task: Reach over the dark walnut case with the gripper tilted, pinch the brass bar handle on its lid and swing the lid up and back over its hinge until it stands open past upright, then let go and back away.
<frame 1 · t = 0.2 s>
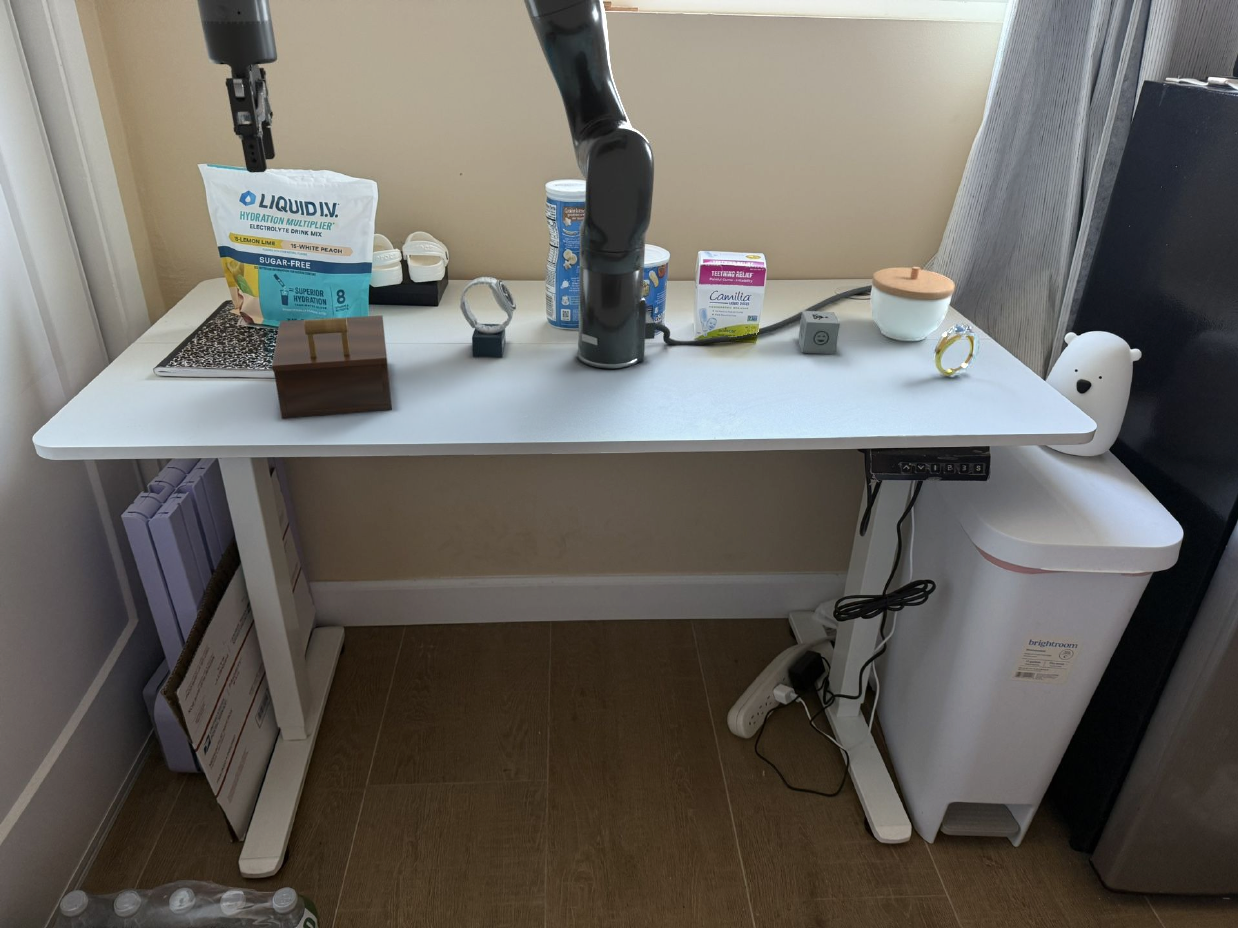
hand: (262, 165, 109), 29 cm above the table, tool pointing down, fingers open, 8 cm apart
case: (338, 390, 121), on the table
ring: (950, 377, 132), on the table
lid: (329, 324, 116), point 10 cm above the table, hinge at 0.0°
lidded bowl: (902, 334, 147), on the table
dice cube: (816, 348, 140), on the table
watch: (490, 351, 135), on the table
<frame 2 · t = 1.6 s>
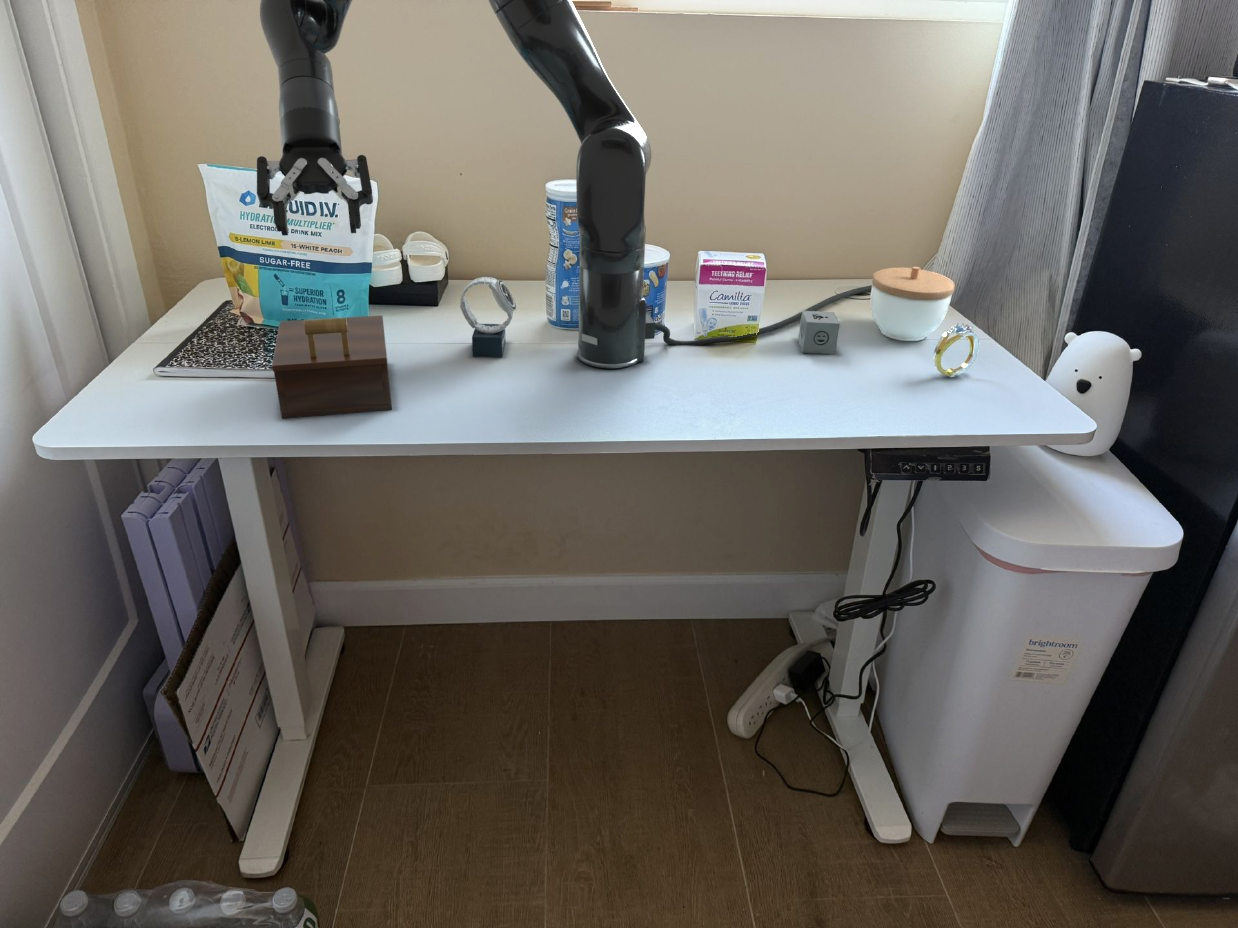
hand: (319, 231, 116), 20 cm above the table, tool tilted 45°, fingers open, 8 cm apart
nothing on the table moved.
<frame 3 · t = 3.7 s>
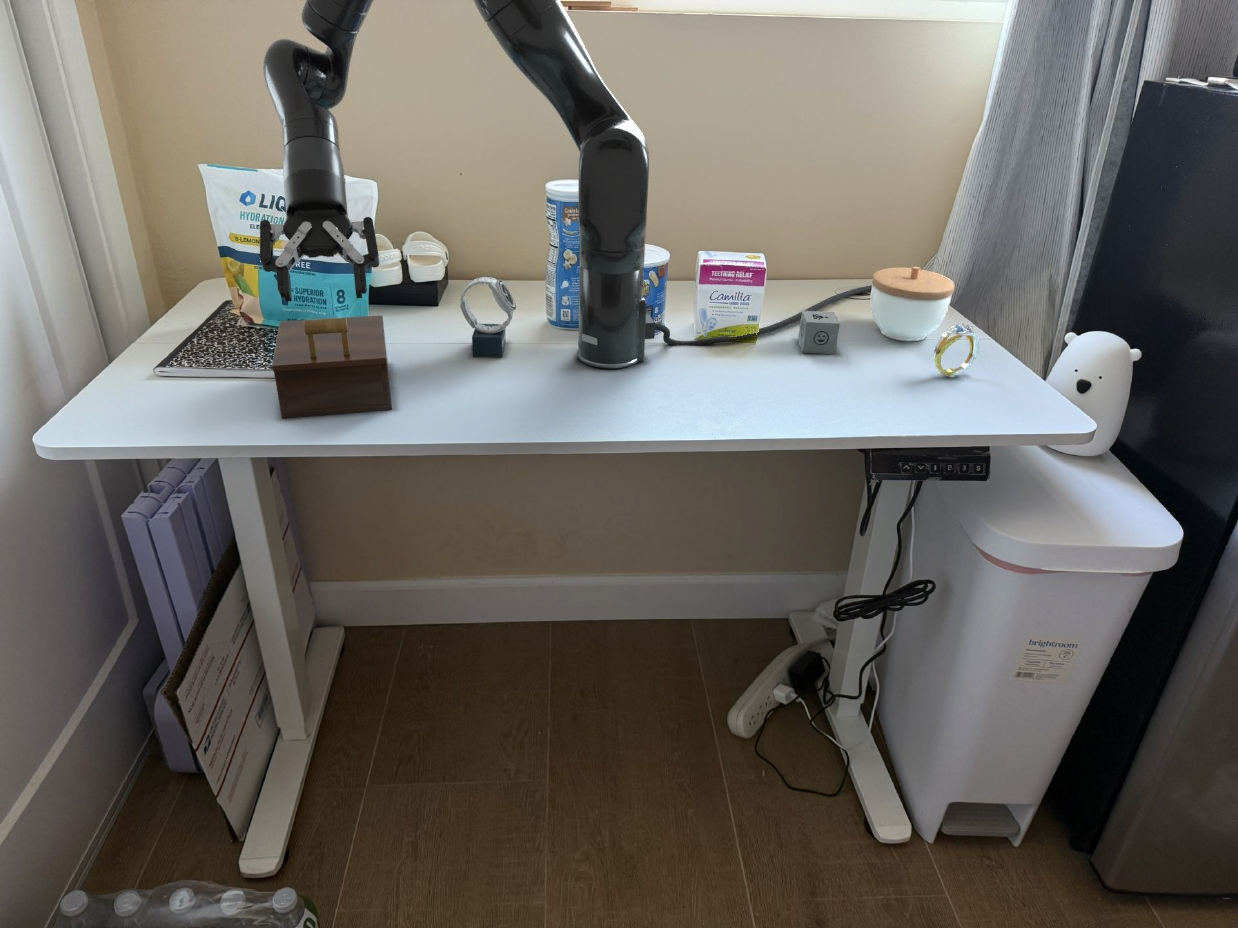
hand: (324, 297, 112), 14 cm above the table, tool tilted 45°, fingers open, 8 cm apart
nothing on the table moved.
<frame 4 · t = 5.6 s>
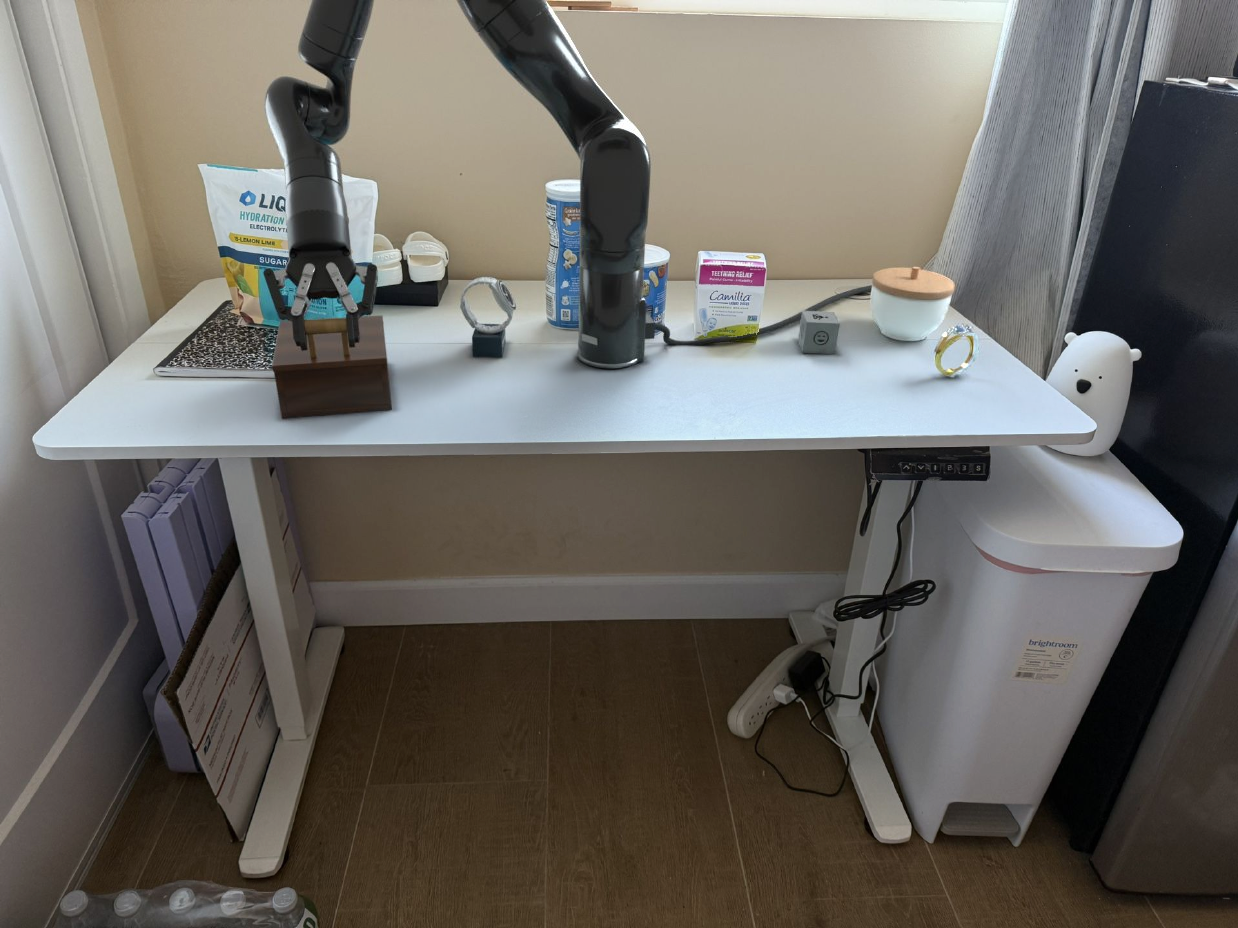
hand: (328, 346, 110), 10 cm above the table, tool tilted 45°, fingers closed on lid, 5 cm apart
lid: (329, 324, 116), point 10 cm above the table, hinge at -0.1°, touching gripper
everything else where it was.
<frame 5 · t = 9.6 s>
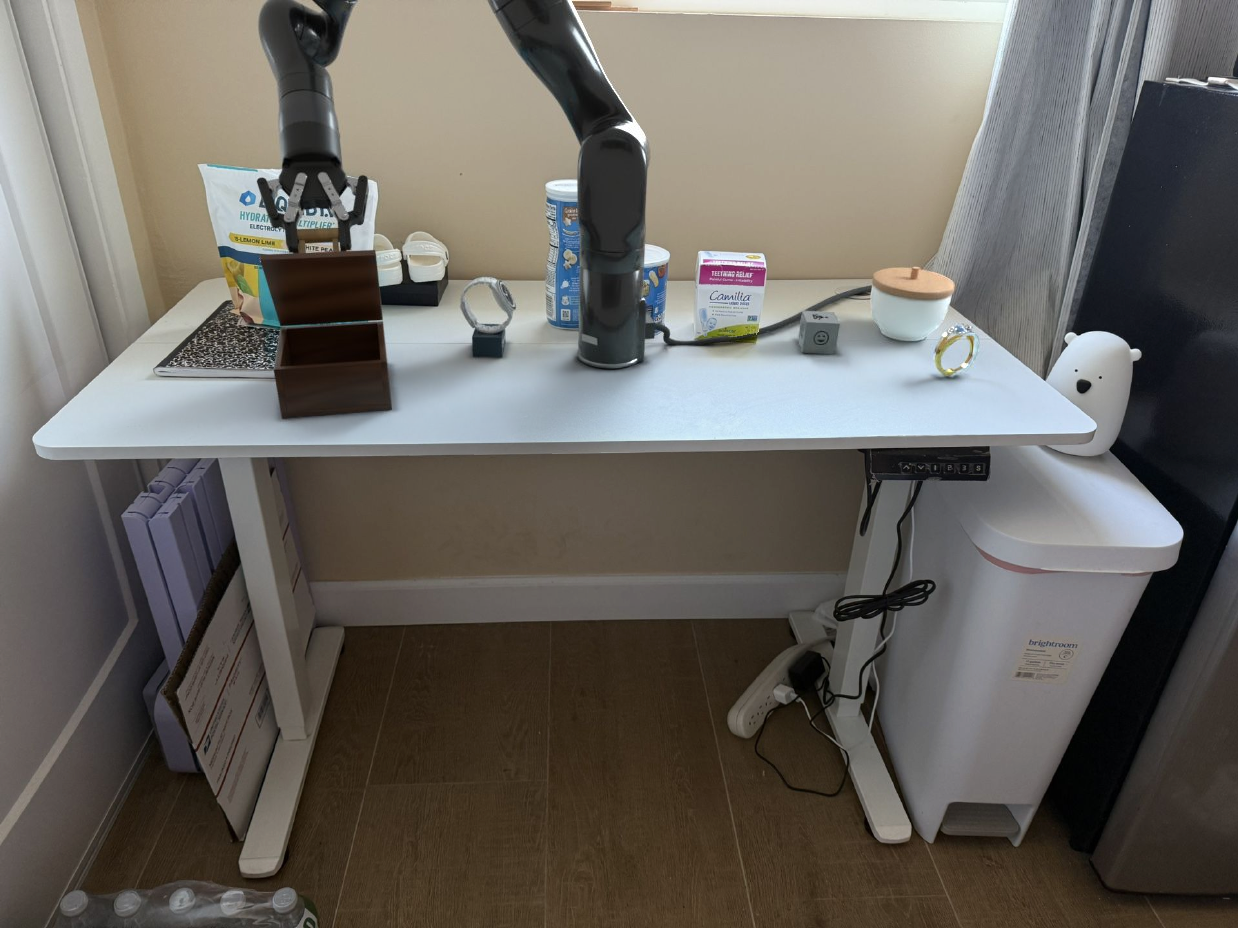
hand: (320, 252, 113), 19 cm above the table, tool tilted 45°, fingers closed on lid, 5 cm apart
lid: (324, 274, 118), point 15 cm above the table, hinge at 51.8°, touching gripper
everything else where it was.
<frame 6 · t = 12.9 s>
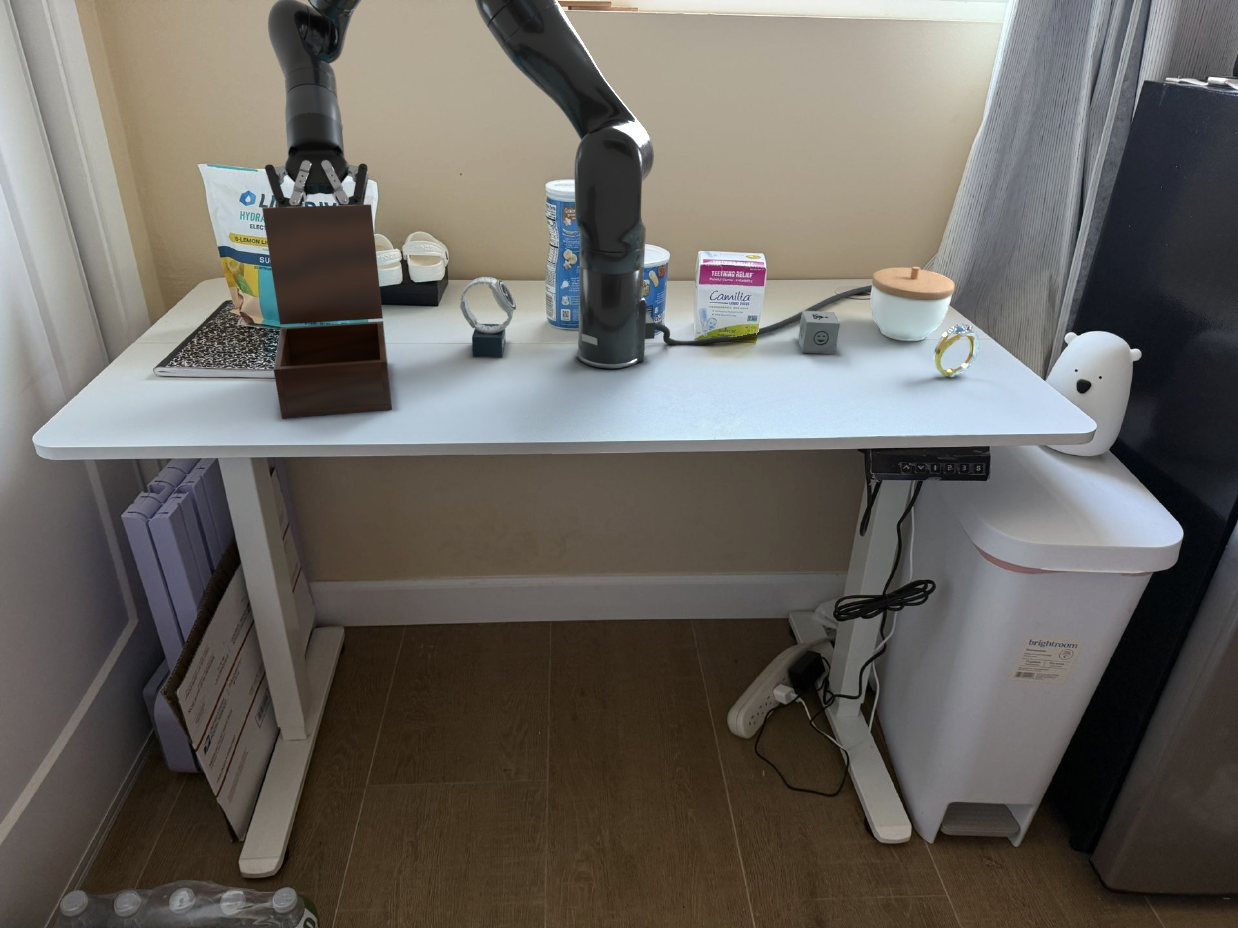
hand: (322, 233, 122), 18 cm above the table, tool tilted 45°, fingers closed on lid, 5 cm apart
lid: (325, 261, 123), point 15 cm above the table, hinge at 95.0°, touching gripper
everything else where it was.
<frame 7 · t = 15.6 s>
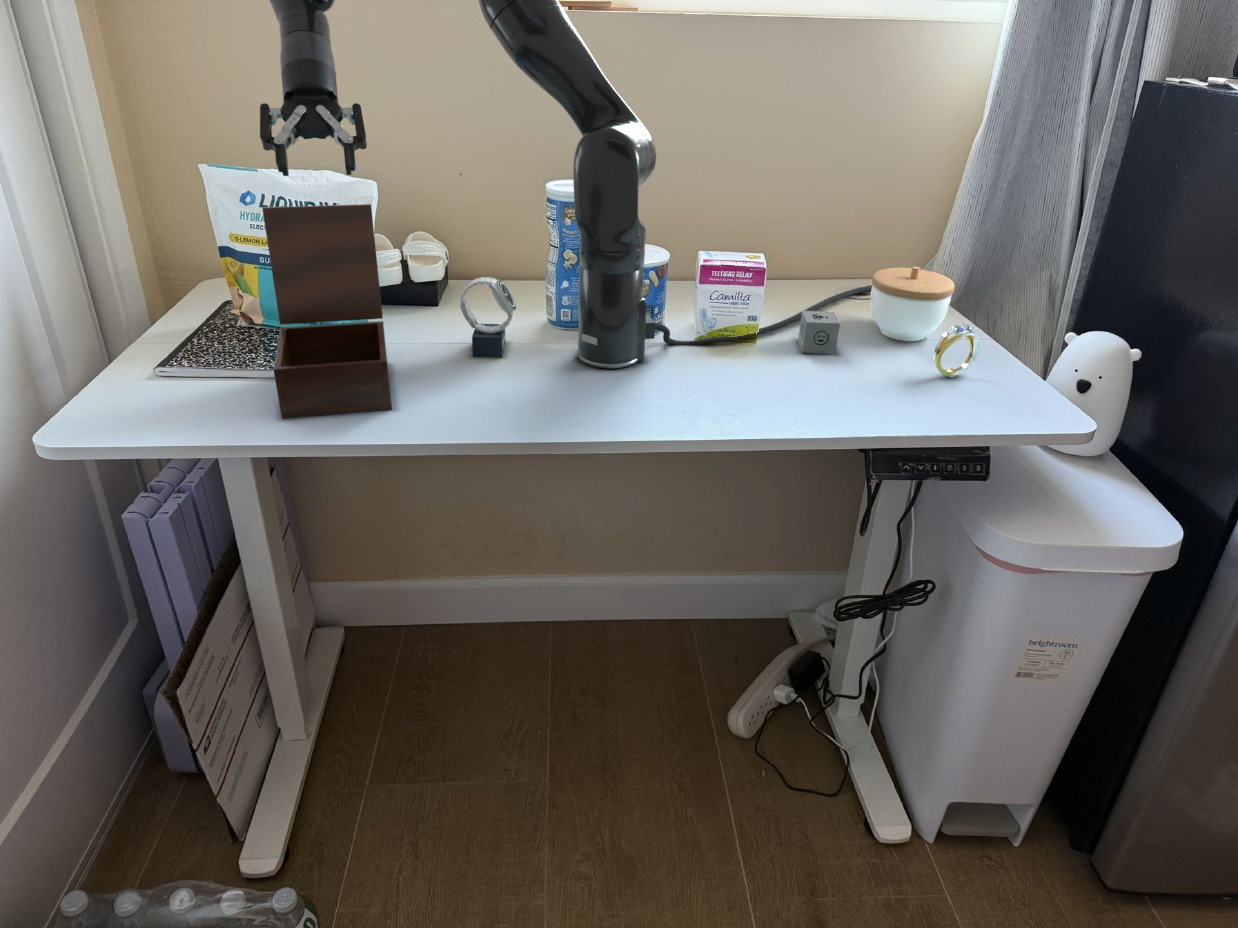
hand: (317, 172, 126), 24 cm above the table, tool tilted 45°, fingers open, 8 cm apart
lid: (325, 261, 123), point 15 cm above the table, hinge at 95.7°
everything else where it was.
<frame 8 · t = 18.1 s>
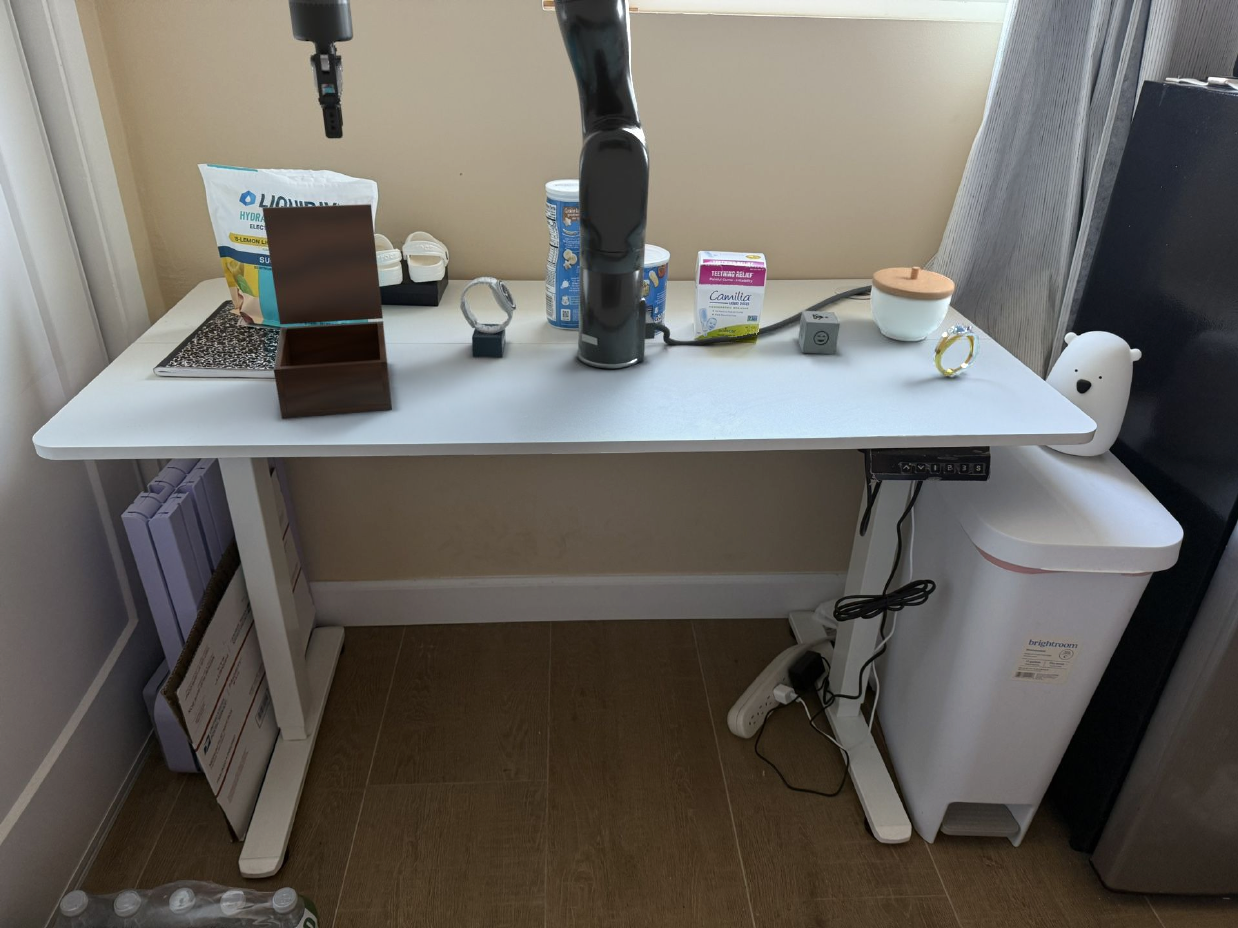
hand: (334, 132, 122), 30 cm above the table, tool pointing down, fingers open, 8 cm apart
nothing on the table moved.
at the end: lid at +96° (first picture: +0°); lid reached +96° during the clip, +96° at the end; the gripper is holding nothing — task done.
